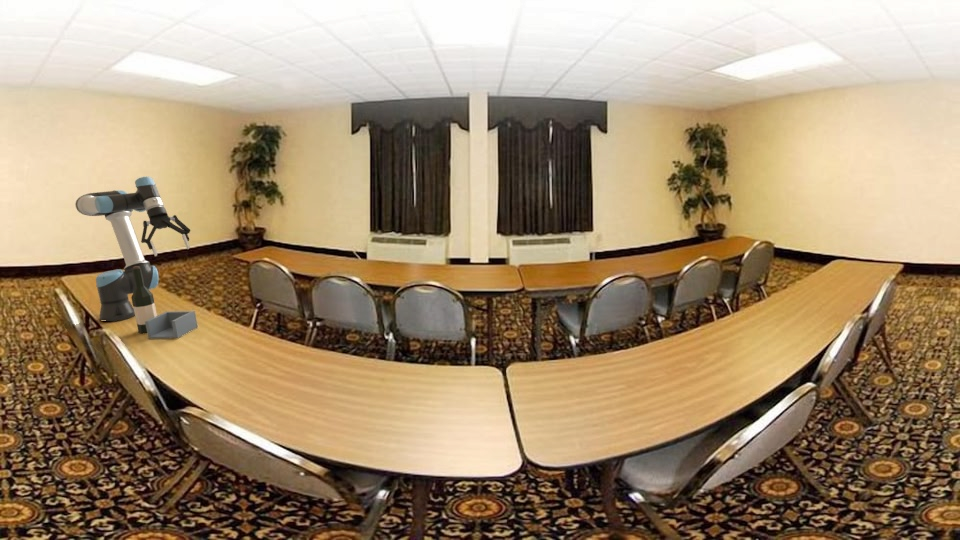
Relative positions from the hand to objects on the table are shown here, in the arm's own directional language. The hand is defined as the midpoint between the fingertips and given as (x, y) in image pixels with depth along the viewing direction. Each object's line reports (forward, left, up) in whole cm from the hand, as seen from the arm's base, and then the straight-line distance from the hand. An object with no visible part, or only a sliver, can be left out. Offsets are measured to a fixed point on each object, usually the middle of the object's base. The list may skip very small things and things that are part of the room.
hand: (172, 251), depth 248 cm
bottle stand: (+1, -11, -35) cm, 37 cm away
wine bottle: (-14, -7, -35) cm, 38 cm away
